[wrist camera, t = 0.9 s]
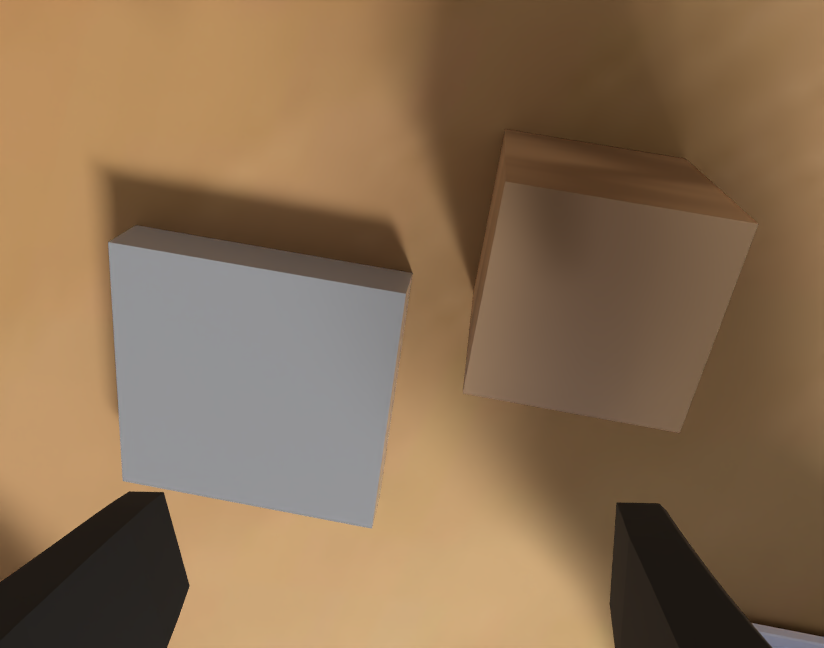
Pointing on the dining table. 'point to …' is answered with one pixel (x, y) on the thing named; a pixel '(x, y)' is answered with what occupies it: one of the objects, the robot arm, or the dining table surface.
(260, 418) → the slate slab
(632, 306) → the walnut block
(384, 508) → the dining table surface
